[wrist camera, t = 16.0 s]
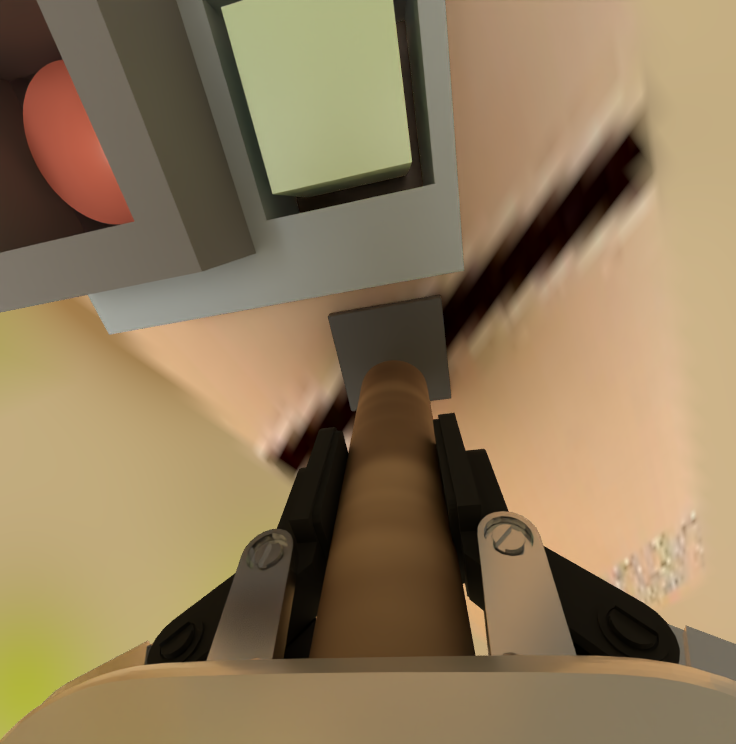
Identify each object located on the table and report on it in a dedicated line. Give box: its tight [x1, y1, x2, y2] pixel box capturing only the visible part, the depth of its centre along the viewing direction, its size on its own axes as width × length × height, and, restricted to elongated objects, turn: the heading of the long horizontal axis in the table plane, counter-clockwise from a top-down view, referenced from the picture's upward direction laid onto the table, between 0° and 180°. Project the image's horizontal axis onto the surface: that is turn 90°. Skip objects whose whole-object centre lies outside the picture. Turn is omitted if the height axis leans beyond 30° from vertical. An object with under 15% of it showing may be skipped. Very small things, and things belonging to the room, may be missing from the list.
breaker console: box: [0, 0, 464, 334], centre depth 12 cm, size 12×15×9 cm
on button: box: [221, 0, 412, 198], centre depth 12 cm, size 5×5×5 cm
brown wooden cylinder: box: [309, 360, 475, 658], centre depth 10 cm, size 3×3×14 cm
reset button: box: [23, 59, 134, 224], centre depth 13 cm, size 4×4×5 cm
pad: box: [328, 295, 451, 411], centre depth 19 cm, size 6×6×1 cm
